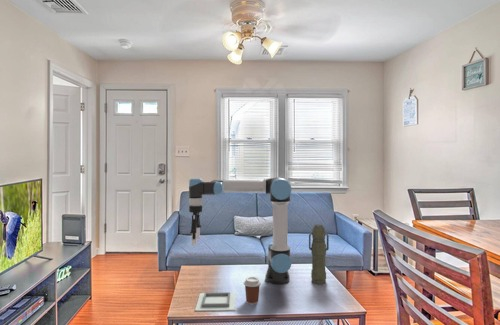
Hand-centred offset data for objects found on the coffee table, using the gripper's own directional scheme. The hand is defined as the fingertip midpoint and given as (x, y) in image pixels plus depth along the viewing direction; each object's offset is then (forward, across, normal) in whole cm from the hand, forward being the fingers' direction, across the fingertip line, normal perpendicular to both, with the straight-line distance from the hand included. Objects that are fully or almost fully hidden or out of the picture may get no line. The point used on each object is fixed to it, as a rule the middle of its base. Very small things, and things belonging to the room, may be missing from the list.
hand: (195, 241), depth 184 cm
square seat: (+28, +17, +13) cm, 35 cm away
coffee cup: (+28, +17, +32) cm, 46 cm away
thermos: (+28, -8, +74) cm, 80 cm away
